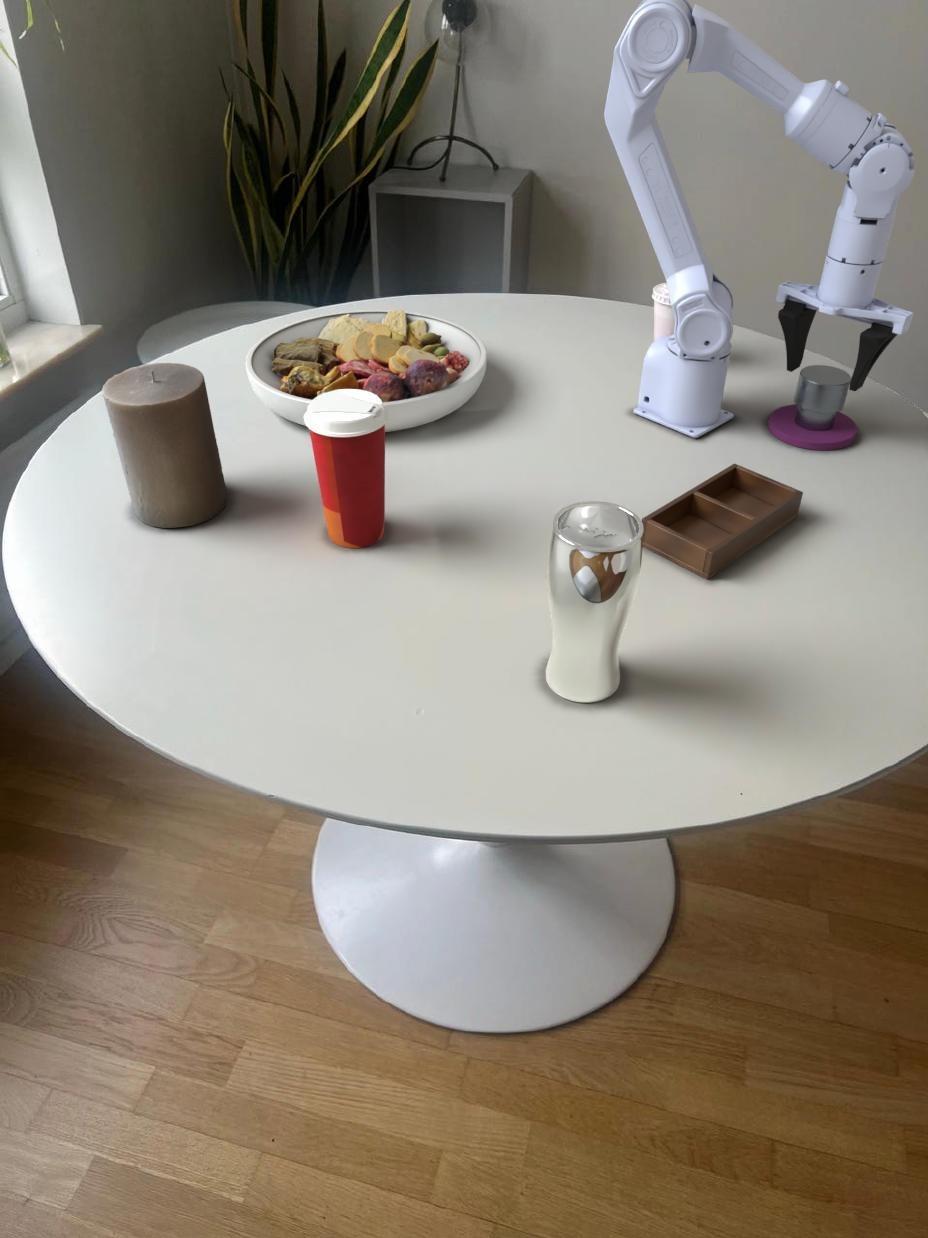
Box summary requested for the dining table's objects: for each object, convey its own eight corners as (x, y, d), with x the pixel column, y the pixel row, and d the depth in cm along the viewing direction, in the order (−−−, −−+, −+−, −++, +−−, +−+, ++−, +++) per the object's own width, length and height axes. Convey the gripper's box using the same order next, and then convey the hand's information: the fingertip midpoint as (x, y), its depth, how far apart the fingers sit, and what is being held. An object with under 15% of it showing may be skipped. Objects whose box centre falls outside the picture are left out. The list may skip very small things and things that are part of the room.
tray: (638, 544, 92) (641, 518, 90) (729, 487, 101) (734, 462, 99) (707, 579, 87) (712, 553, 86) (797, 517, 96) (803, 491, 94)
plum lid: (751, 429, 111) (752, 421, 110) (795, 403, 116) (797, 396, 116) (827, 459, 105) (829, 451, 105) (870, 430, 111) (873, 423, 110)
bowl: (206, 386, 121) (195, 327, 116) (387, 327, 136) (385, 272, 131) (345, 472, 103) (339, 406, 98) (534, 393, 119) (537, 333, 114)
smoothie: (691, 372, 124) (708, 265, 115) (642, 368, 125) (655, 262, 116) (691, 353, 129) (708, 249, 120) (645, 350, 130) (657, 246, 121)
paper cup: (406, 520, 96) (400, 392, 87) (376, 560, 90) (367, 428, 81) (336, 506, 98) (324, 381, 89) (303, 545, 92) (286, 415, 83)
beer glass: (534, 652, 79) (543, 501, 70) (615, 648, 80) (634, 497, 70) (546, 710, 74) (558, 553, 64) (633, 704, 74) (657, 548, 65)
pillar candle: (245, 504, 98) (222, 369, 89) (163, 541, 93) (129, 401, 83) (196, 471, 103) (169, 341, 94) (115, 504, 98) (78, 369, 89)
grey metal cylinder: (780, 423, 110) (791, 375, 106) (802, 407, 113) (814, 360, 110) (824, 438, 107) (837, 389, 103) (846, 421, 110) (859, 374, 107)
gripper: (773, 250, 100) (749, 370, 108) (907, 281, 92) (869, 408, 101) (804, 235, 104) (779, 352, 112) (935, 264, 96) (896, 387, 105)
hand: (823, 377), depth 107 cm, fingers open, 7 cm apart
